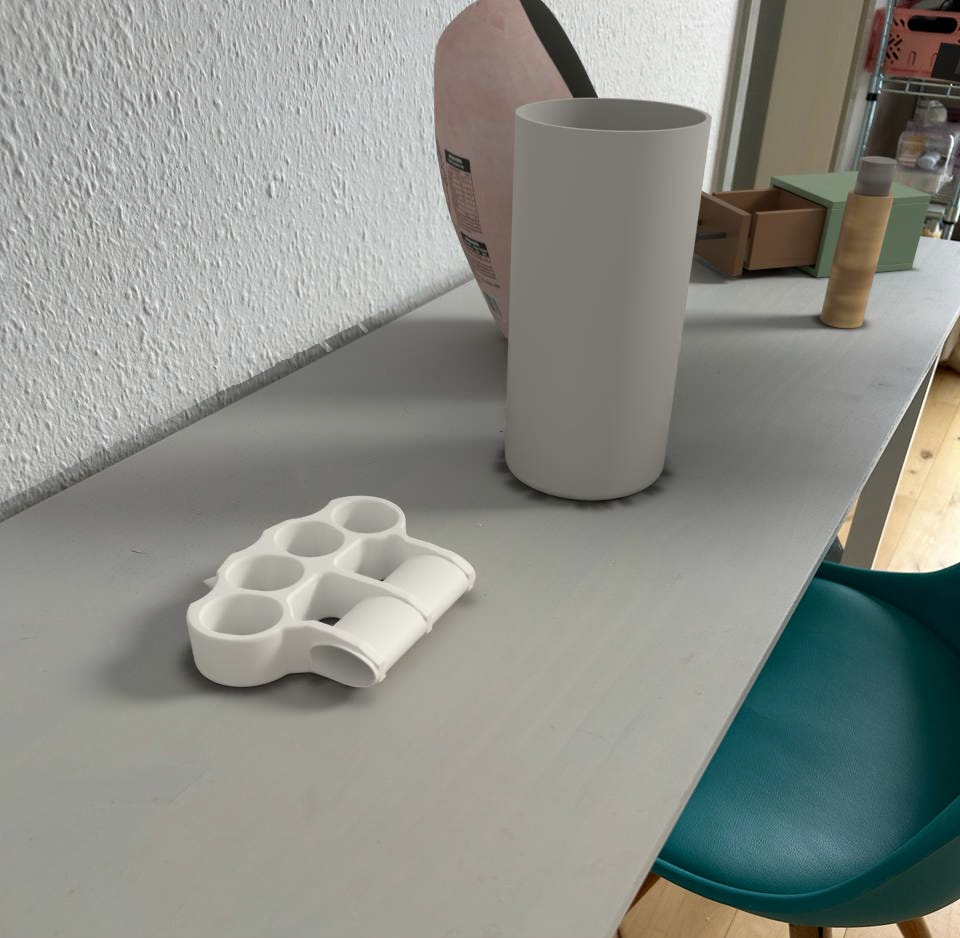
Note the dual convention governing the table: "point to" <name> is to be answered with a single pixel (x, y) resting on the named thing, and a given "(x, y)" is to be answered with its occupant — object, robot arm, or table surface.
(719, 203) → the drawer
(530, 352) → the cylinder vase
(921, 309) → the table surface
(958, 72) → the robot arm
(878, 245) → the salt mill
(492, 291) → the packaged food
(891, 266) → the cabinet
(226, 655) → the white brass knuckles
